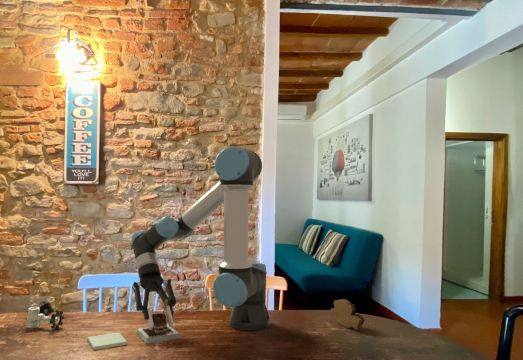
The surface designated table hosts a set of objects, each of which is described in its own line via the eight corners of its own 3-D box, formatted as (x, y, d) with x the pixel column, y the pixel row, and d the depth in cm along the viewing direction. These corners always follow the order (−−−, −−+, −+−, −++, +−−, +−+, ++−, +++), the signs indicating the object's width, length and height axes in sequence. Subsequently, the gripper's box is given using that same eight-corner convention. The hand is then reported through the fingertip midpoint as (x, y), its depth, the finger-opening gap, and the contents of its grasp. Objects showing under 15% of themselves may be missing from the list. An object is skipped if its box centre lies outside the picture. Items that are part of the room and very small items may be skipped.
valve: (21, 329, 148) (51, 332, 145) (21, 310, 148) (52, 312, 145) (34, 323, 154) (64, 326, 152) (35, 305, 154) (64, 307, 152)
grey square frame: (167, 329, 151) (167, 324, 151) (178, 338, 141) (179, 333, 141) (137, 334, 145) (137, 328, 145) (146, 344, 136) (146, 338, 136)
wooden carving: (368, 332, 153) (368, 304, 154) (359, 334, 151) (359, 305, 151) (335, 320, 167) (336, 294, 167) (327, 322, 164) (327, 295, 165)
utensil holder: (144, 336, 143) (146, 300, 143) (160, 332, 147) (162, 297, 148) (154, 340, 139) (156, 303, 139) (170, 336, 143) (172, 300, 144)
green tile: (119, 335, 143) (119, 332, 143) (126, 344, 135) (126, 341, 135) (87, 340, 138) (87, 336, 138) (93, 350, 130) (93, 346, 130)
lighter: (31, 325, 160) (24, 312, 160) (34, 323, 162) (27, 310, 162) (52, 312, 160) (44, 299, 160) (54, 311, 162) (47, 298, 162)
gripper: (170, 272, 162) (185, 327, 147) (119, 276, 152) (130, 336, 137) (176, 260, 157) (191, 316, 143) (123, 263, 147) (135, 324, 133)
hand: (161, 326), depth 140 cm, fingers closed on utensil holder, 6 cm apart
